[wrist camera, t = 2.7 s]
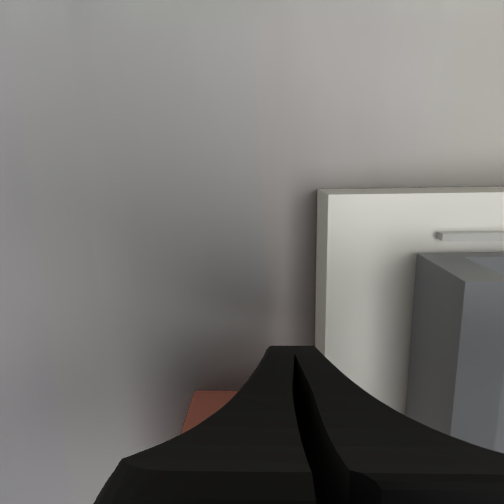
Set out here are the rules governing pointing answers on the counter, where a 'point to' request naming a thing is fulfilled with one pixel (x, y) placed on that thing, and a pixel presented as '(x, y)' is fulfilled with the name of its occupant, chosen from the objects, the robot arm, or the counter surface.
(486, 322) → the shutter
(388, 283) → the socket board
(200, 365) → the counter surface
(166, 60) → the counter surface
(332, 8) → the counter surface
